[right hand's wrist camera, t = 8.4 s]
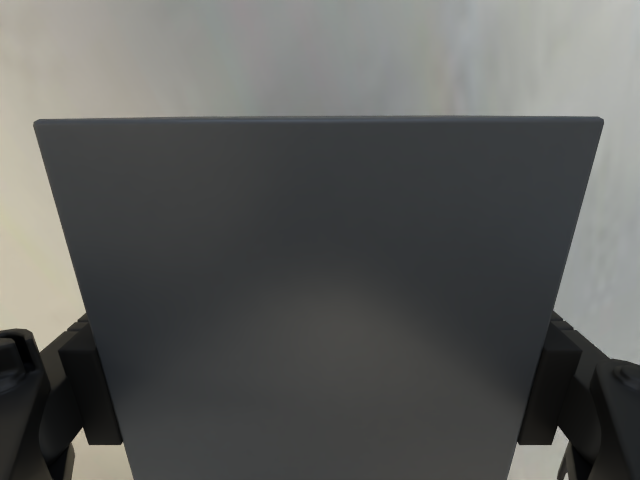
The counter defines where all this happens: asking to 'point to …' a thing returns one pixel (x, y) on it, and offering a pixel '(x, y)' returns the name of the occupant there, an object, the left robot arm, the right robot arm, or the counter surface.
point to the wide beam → (319, 285)
